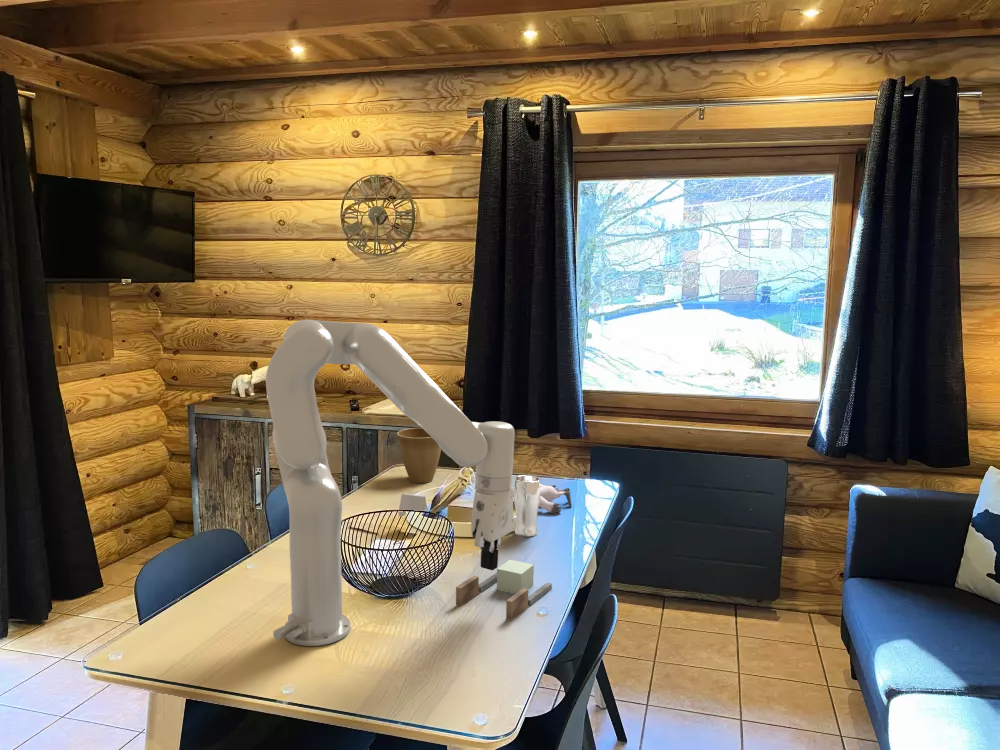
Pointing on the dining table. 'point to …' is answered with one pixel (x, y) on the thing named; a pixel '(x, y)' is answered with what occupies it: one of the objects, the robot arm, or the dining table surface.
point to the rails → (531, 598)
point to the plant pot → (419, 454)
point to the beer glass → (526, 504)
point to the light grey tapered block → (412, 503)
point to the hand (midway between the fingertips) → (488, 567)
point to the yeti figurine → (551, 498)
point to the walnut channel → (471, 590)
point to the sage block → (514, 576)
